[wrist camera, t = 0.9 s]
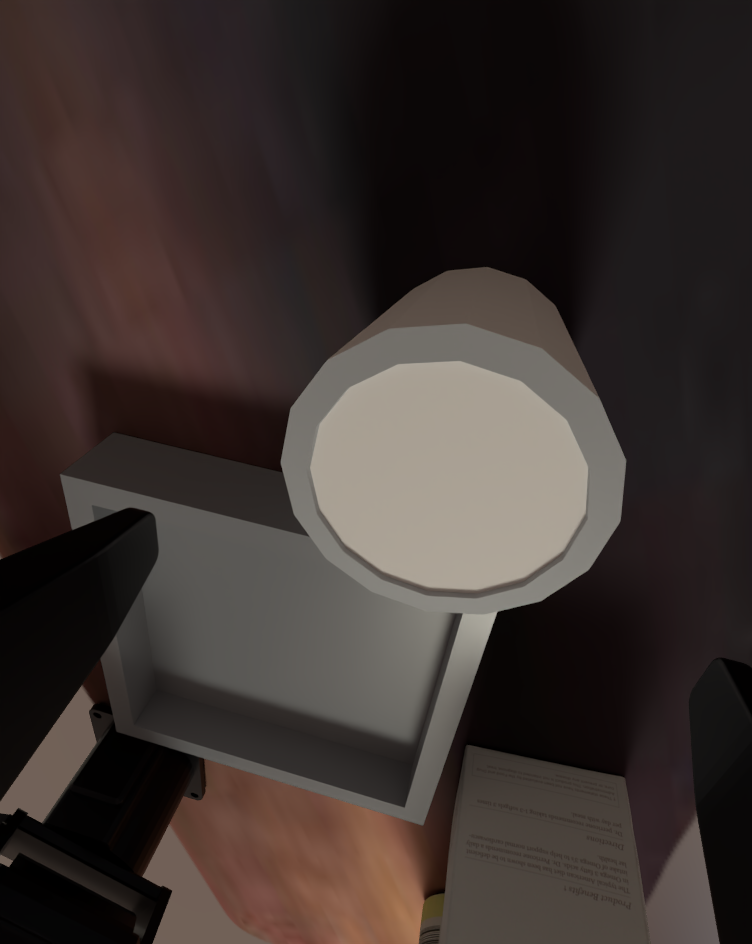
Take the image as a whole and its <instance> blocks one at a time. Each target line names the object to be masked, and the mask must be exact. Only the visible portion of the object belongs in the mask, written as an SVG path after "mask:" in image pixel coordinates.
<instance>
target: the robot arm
mask: <svg viewBox="0 0 752 944" xmlns="http://www.w3.org/2000/svg"><path fill="white" fill-rule="evenodd" d="M158 555H159V544H158V535H157V526H156V519H155V516H154V515H153V513H151V512H149V511H145V510H141V509H137V508H132V507H129V508H125V509H123V510H120V511H118V512H115V513H113V514H110V515H108V516H106V517H103V518H101V519H98V520H96V521H93V522H91V523H88V524H86V525H84V526H81V527H79V528H76V529H74V530H71V531H69V532H67V533H64V534H62V535H59V536H57V537H54V538H52V539H49V540H47V541H45V542H42V543H40V544H37V545H35V546H32V547H30V548H27V549H25V550H23V551H20V552H18V553H15V554H13V555H10V556H8V557H5V558H3V559H1V560H0V801H1V800H2V798H3V797H4V795H5V794H6V792H7V791H8V790H9V788H10V787H11V785H12V784H13V782H14V781H15V780H16V778H17V777H18V775H19V774H20V772H21V771H22V770H23V768H24V767H25V765H26V764H27V762H28V761H29V759H30V758H31V757H32V755H33V754H34V752H35V751H36V750H37V748H38V747H39V745H40V744H41V743H42V741H43V740H44V738H45V737H46V735H47V734H48V732H49V731H50V730H51V728H52V727H53V725H54V724H55V723H56V721H57V720H58V718H59V717H60V715H61V714H62V713H63V711H64V710H65V708H66V707H67V705H68V704H69V703H70V701H71V700H72V698H73V697H74V695H75V694H76V693H77V691H78V690H79V688H80V687H81V685H82V684H83V683H84V681H85V680H86V678H87V677H88V675H89V674H90V673H91V671H92V670H93V668H94V667H95V665H96V664H97V663H98V661H99V660H100V658H101V657H102V655H103V654H104V653H105V651H106V650H107V648H108V647H109V645H110V644H111V642H112V641H113V639H114V637H115V636H116V634H117V632H118V631H119V629H120V627H121V625H122V624H123V622H124V620H125V618H126V616H127V615H128V613H129V611H130V609H131V607H132V605H133V604H134V602H135V600H136V598H137V596H138V595H139V593H140V591H141V589H142V587H143V585H144V584H145V582H146V580H147V578H148V576H149V575H150V573H151V571H152V569H153V567H154V566H155V564H156V561H157V559H158ZM89 714H90V718H91V722H92V726H93V729H94V733H95V737H96V741H97V743H96V745H95V747H94V748H93V749H92V751H91V752H90V754H89V755H88V757H87V758H86V760H85V761H84V762H83V764H82V765H81V767H80V768H79V770H78V771H77V773H76V774H75V776H74V777H73V779H72V780H71V781H70V783H69V784H68V786H67V787H66V789H65V790H64V792H63V793H62V795H61V796H60V798H59V799H58V801H57V802H56V803H55V805H54V806H53V808H52V809H51V811H50V812H49V814H48V815H47V816H46V818H45V819H44V821H43V822H42V823H41V822H39V821H37V820H35V819H33V818H31V817H29V816H27V814H28V813H27V812H25V811H23V810H21V809H19V808H18V809H17V810H16V812H15V813H14V814H13V816H12V815H11V814H9V815H8V814H1V813H0V855H3V856H5V857H7V858H9V859H11V860H13V862H12V864H11V865H10V867H7V866H5V865H3V864H1V863H0V944H152V943H153V940H154V938H155V935H156V933H157V930H158V927H159V925H160V922H161V919H162V917H163V914H164V912H165V909H166V906H167V904H168V901H169V898H170V896H171V893H172V890H170V889H168V888H166V887H164V886H162V887H160V886H158V885H156V884H154V883H152V882H150V881H149V880H147V879H145V878H143V877H142V876H143V874H144V873H145V871H146V869H147V867H148V864H149V863H150V860H151V859H152V857H153V855H154V853H155V851H156V849H157V847H158V845H159V843H160V841H161V839H162V837H163V835H164V833H165V831H166V829H167V827H168V825H169V823H170V821H171V819H172V817H173V815H174V813H175V811H176V809H177V807H178V806H179V804H180V802H181V800H182V798H183V796H185V797H188V798H192V799H195V800H201V799H202V798H203V796H204V794H205V778H204V766H203V758H201V757H198V756H194V755H191V754H188V753H185V752H181V751H178V750H175V749H172V748H168V747H165V746H162V745H158V744H155V743H152V742H149V741H145V740H142V739H139V738H136V737H132V736H129V735H126V734H123V733H119V732H117V731H116V727H115V722H114V717H113V713H112V708H111V707H109V706H106V705H103V704H98V703H97V704H94V705H93V707H92V708H91V710H90V711H89ZM689 714H690V730H691V746H692V761H693V777H694V792H695V802H696V810H697V817H698V824H699V829H700V835H701V841H702V846H703V852H704V858H705V863H706V869H707V875H708V880H709V886H710V891H711V897H712V903H713V908H714V914H715V919H716V925H717V930H718V937H719V942H720V944H752V668H751V667H750V666H748V665H747V664H744V663H741V662H737V661H733V660H730V659H726V658H716V659H715V660H713V661H712V662H711V663H710V665H709V666H708V668H707V669H706V671H705V672H704V674H703V675H702V676H701V678H700V679H699V681H698V682H697V684H696V685H695V687H694V688H693V690H692V692H691V695H690V699H689Z"/></svg>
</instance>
